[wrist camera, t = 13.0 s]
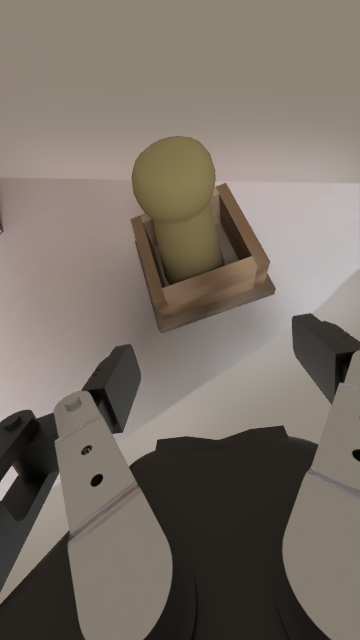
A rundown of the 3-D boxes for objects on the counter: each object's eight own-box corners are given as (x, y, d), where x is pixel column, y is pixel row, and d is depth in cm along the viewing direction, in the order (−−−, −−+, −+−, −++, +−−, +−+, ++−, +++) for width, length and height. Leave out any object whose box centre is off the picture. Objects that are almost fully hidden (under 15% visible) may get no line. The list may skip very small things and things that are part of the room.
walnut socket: (161, 332, 22) (146, 314, 18) (138, 246, 27) (121, 216, 23) (273, 294, 22) (284, 265, 18) (230, 212, 26) (230, 174, 22)
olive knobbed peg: (187, 305, 22) (151, 211, 12) (152, 264, 24) (99, 159, 14) (237, 267, 22) (245, 146, 12) (199, 231, 25) (179, 106, 15)
